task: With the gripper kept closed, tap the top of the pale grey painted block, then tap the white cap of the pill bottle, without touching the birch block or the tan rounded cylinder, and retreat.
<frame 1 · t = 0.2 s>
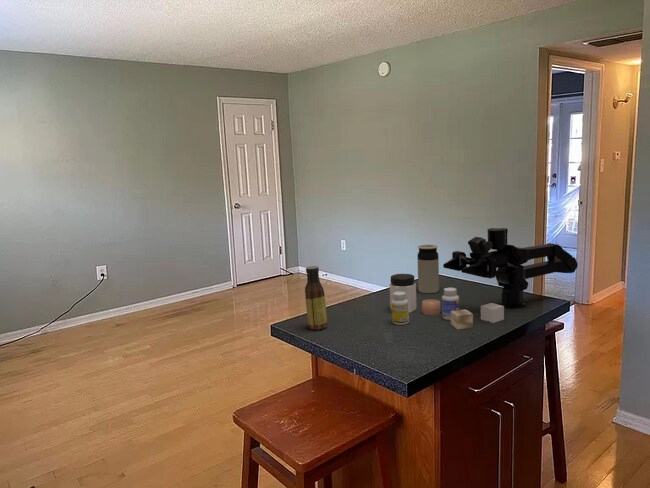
hand: (452, 268, 159), 17 cm above the worktop, tool horizontal, fingers open, 9 cm apart
pill bottle: (450, 318, 162), on the worktop
birch block: (461, 326, 154), on the worktop
grey block: (492, 319, 158), on the worktop
travel mug: (428, 291, 195), on the worktop
sauce bottle: (317, 328, 160), on the worktop
supplement bottle: (400, 323, 160), on the worktop
jar: (403, 310, 173), on the worktop
tan rounded cylinder: (431, 313, 168), on the worktop
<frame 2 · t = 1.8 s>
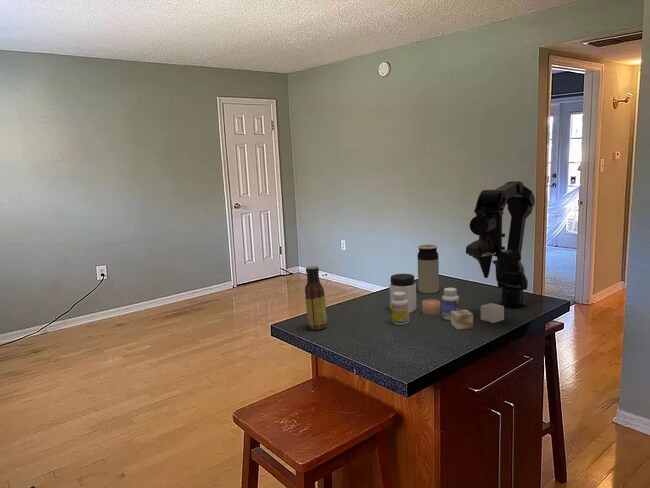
hand: (492, 279, 156), 13 cm above the worktop, tool pointing down, fingers open, 5 cm apart
nothing on the worktop moved.
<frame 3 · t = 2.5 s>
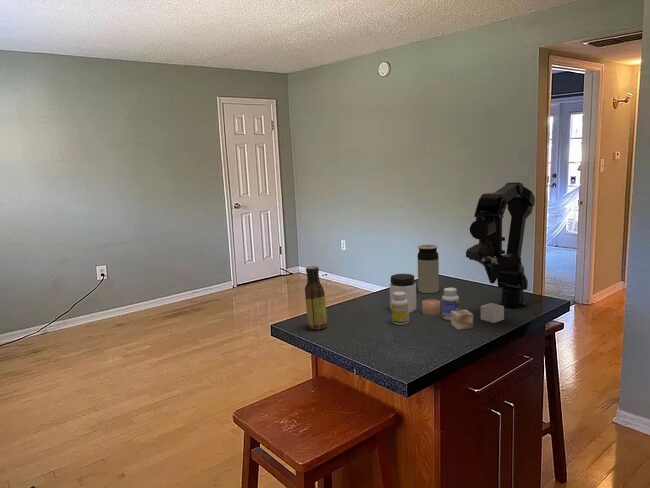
hand: (492, 283, 156), 12 cm above the worktop, tool pointing down, fingers closed
nothing on the worktop moved.
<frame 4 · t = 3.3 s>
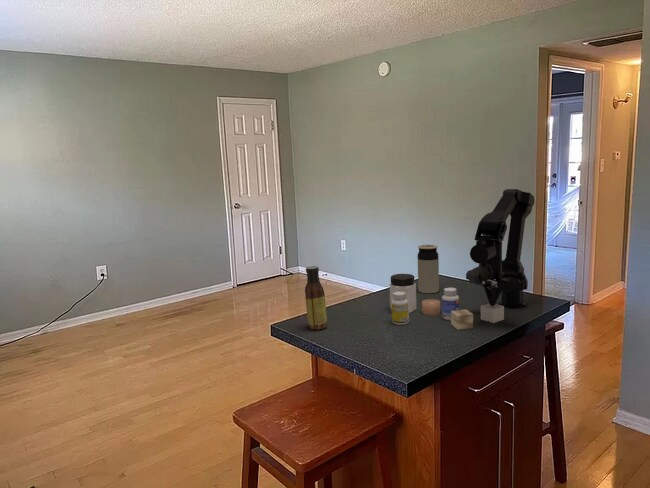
hand: (492, 305, 157), 5 cm above the worktop, tool pointing down, fingers closed
nothing on the worktop moved.
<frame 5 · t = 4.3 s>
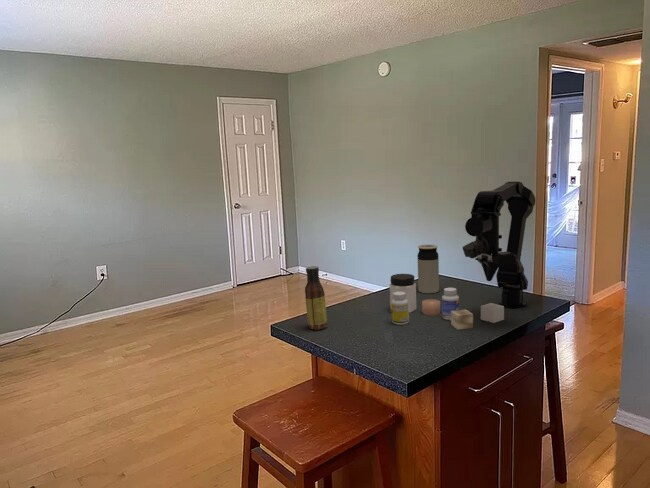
hand: (489, 280, 156), 13 cm above the worktop, tool pointing down, fingers closed
nothing on the worktop moved.
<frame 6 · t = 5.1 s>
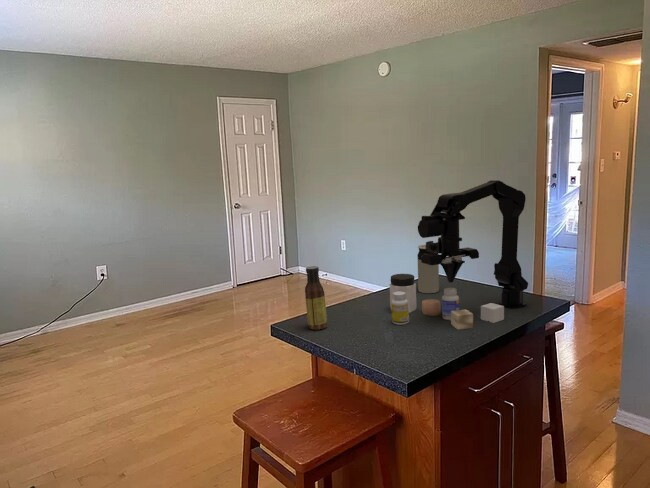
hand: (450, 282, 160), 12 cm above the worktop, tool pointing down, fingers closed
nothing on the worktop moved.
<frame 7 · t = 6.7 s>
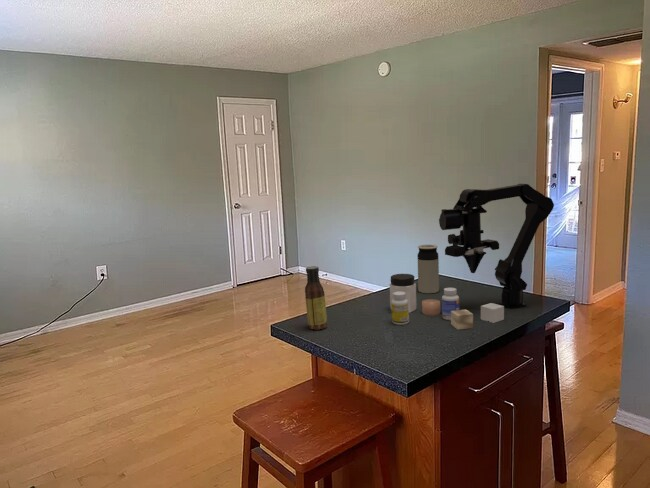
hand: (472, 272, 167), 13 cm above the worktop, tool pointing down, fingers closed
nothing on the worktop moved.
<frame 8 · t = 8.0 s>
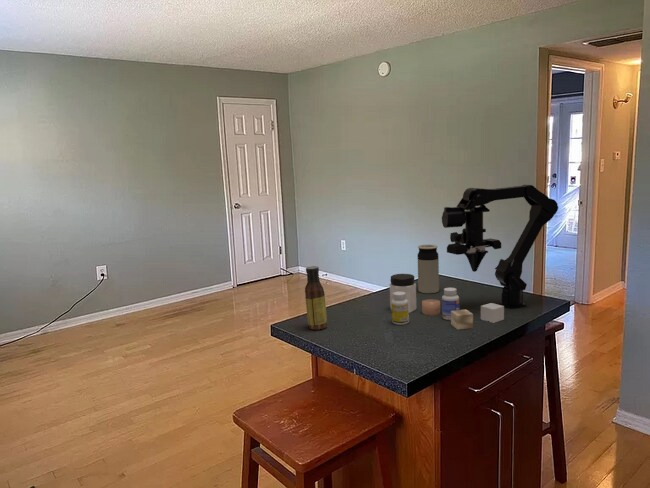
hand: (474, 271, 168), 13 cm above the worktop, tool pointing down, fingers closed
nothing on the worktop moved.
at the end: pill bottle tilted 0°; pill bottle moved 0.2 cm from its start; grey block moved 0.2 cm from its start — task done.
